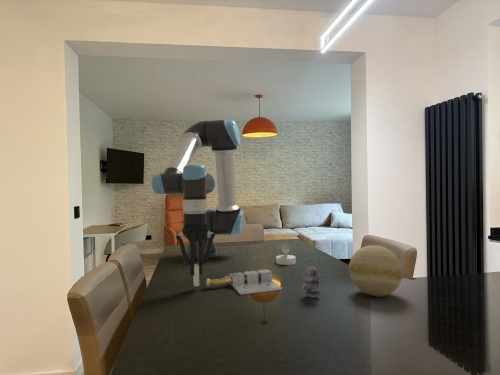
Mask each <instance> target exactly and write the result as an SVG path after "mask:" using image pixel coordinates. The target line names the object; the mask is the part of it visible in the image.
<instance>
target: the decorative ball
mask: <svg viewBox="0 0 500 375" xmlns="http://www.w3.org/2000/svg"><path fill="white" fill-rule="evenodd" d="M348 272H349V277H350V279H351V281H352V283H353V285H354V286H355V287H356V289H358V290H359V291H360V292H362V293H363V294H365V295H368V296H370V297H371V296H372V297H386V296H388V295H391V294H392V293H393V292H395V291H396V290H397V289H398V288H399V287H400V284H401V282H402V278H403V268H402V264H401V262H400V259H399V258H398V256H396V254H395V253H394V252H392V250H390V249H388V248H387V247H384V246H381V245H376V244H375V245H374V244H370V245H366V246H363V247H360V248H359V249H357V251H355V252H354V253H353V254H352V256H351V258H350V261H349V264H348Z"/></svg>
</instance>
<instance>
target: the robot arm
mask: <svg viewBox="0 0 500 375" xmlns="http://www.w3.org/2000/svg"><path fill="white" fill-rule="evenodd" d="M179 141H180V142H179V145H178V147H177V149H176V150H175V152H174V154H173V156H172V157H171V159H170V160H169V163H168V164H167V166H166V168H165V170H163V173H155V174H154V175H153V176H152V178H151V188H152V190H153V193H155V194H157V195H182V199H183V200H182V203H183V205H182V211H183V212H184V213H183V214H182V215H183V217H182V218H183V220H182V221H183V222H182V223H183V225H182V226H183V227H182V229H181V232H179V233H178V234H176V235H175V236H174V237H175V239H176V240H177V242H178V243H179V244H178V245H179V249H180V252H181V256H182V260H183V263H184V264H185V265H187V266H188V265H189V274H190V276H191V277H192V276H193V277H192V280H193V286H194V287H199V286H200V275H201V276H202V275H203V265H204V264H207V263H208V262H209V260H210V259H213V258H216V257H217V256H218V250H217V247H216V244H215V240H214V238H215V236H219V235H220V236H235V235H236V236H237V235H240V234H241V233H242V230H243V226H244V219H245V211H244V210H241V206H240V205H239V204H238V203H237V190H236V171H235V170H236V169H235V153H236V151H237V149H238V148H237V147H238V146H240V145H241V136H240V130H239V127H238V124H237V122H236V121H235V120H233V119H221V120H220V119H217V120H202V121H201V120H200V121H199V122H198V121H197V122H196V123H194V124H192V125H190V126H189V127H188V128H187V129H186V130H185V131H184V132H183V133H182V135H181V137H180V140H179ZM205 147H210V148H211V149H210V150H211V152H212V153H213V154H214V157H215V173H216V178H215V177H214V175H212V174H210V173H209V172H207V168H206V166H205V165H203V164H191V163H192V162H193V159H194V157H195V155H196V153H197V152H198V151H199V150H200V149H201V148H205ZM216 187H217V199H218V200H217V202H218V204H217V205H216V207H215V210H214V208H213V207H207V205H208V204H207V195H208V194H210V193H212V192H213V191H214V190H215V188H216ZM184 237H185V238H186V239H187V241H188V244H187V247H185V243H184V239H185V238H184ZM195 260H196V261H197V263H195Z"/></svg>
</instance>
